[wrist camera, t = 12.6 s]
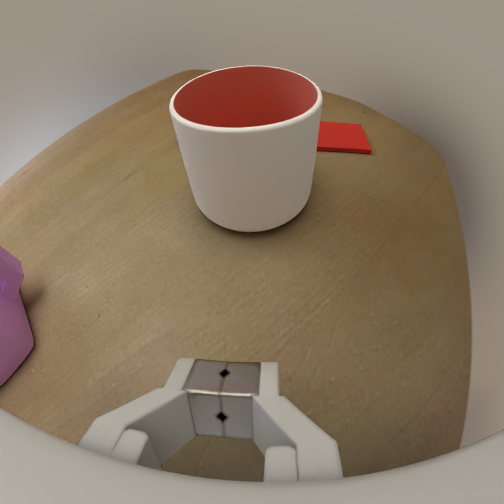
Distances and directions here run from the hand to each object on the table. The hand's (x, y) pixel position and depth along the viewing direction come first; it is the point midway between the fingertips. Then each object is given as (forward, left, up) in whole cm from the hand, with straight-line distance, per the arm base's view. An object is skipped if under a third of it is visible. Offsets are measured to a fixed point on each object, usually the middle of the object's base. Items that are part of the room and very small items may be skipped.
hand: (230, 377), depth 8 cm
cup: (0, -17, -10) cm, 19 cm away
